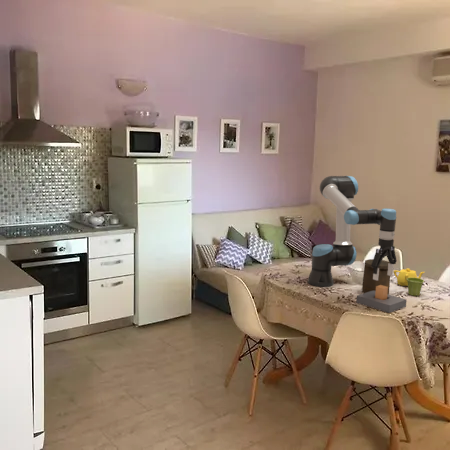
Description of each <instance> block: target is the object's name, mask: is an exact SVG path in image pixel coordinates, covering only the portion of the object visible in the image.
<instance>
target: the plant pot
mask: <svg viewBox="0 0 450 450" xmlns="http://www.w3.org/2000/svg"><path fill="white" fill-rule="evenodd" d="M407 282H408V286H407V293H408V295H410V296H412V297H413V296H414V297H415V296H417V297H418V296H420V294H421V291H422V287H423V285H424V282H425V280H424V279H422V278H421V279H419V278H407Z"/></svg>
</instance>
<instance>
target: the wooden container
mask: <svg viewBox="0 0 450 450" xmlns="http://www.w3.org/2000/svg"><path fill="white" fill-rule="evenodd" d="M373 259H374V258H372V259H370V258H369V259H366V260H364V267H363V277H362V286H361V292H362V294H363V293H367V292H370V291H373V290H375V291H376V286H379V285H383V286H386V287H388V294H389V295H390V288H391V287H390V284H391V276H389V275H387V273H388V263H390V262H389V260H384V259H382V261H381V263H380V265H379V267H378V268H379V276H378V280H374V279H373V270H374V267H371V264H372V262H373Z"/></svg>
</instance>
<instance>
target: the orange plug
mask: <svg viewBox="0 0 450 450" xmlns="http://www.w3.org/2000/svg"><path fill="white" fill-rule="evenodd" d="M387 294H388V287H386V286H383V285H379V286H376V292H375V298H378V299H381V300H386V299H387Z"/></svg>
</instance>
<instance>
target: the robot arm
mask: <svg viewBox="0 0 450 450" xmlns="http://www.w3.org/2000/svg"><path fill="white" fill-rule="evenodd" d="M319 192H320V194H321V196H322V197H323V198H324V199H327V200H329V201H330V202H331V204H333V206H335V207H336V208H335V209H336V210H335V211H336V213H335V214H336V215H335V241H333V243H332V244H328V243H326V244H324V243H323V244H321V243H320V244H317V245H315V246H314V247H312V253H311V259H312V260H311V270H310V274H309V276H308V279H307V283H308V284H309V285H311V286H315V287H323V288H326V287H332V286H333V285H334V279H333V274H332V267H338V266H341V267H342V266H343V267H344V266H351V265H353V263H355V261H356V259H357V249H356V247H355V246H353V242H352V241H351V227H352V226H355V225H378V226H379V233H378V234H379V235H378V246H379V248H376V249H375V254H374V257H373V258H372V259H373V262H372V264H371V267H374V270H373V279H374V280H378V276H379V268H378V267H379V265H380V263H381V261H382V260H384V259H385V257H386V258H387V261H388V262H390V263H388V273H387V275H389V276H390V277H393V275H394V265H397V255H396V251H395V246H394V241H395V240H394V239H395V231H396V222H397V210H396V209H393V208H382V209H381V210H380V209H378V208H369V209H358V207H357V206H356V205H354V204H353V203H352V201H353V200H355V196H356V195H358V192H359V183H358V181H357V179H356V178H355V177H354V176H351V175H328V176H326V177H324V178H323V179H322V180H321V181H320V184H319Z"/></svg>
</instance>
